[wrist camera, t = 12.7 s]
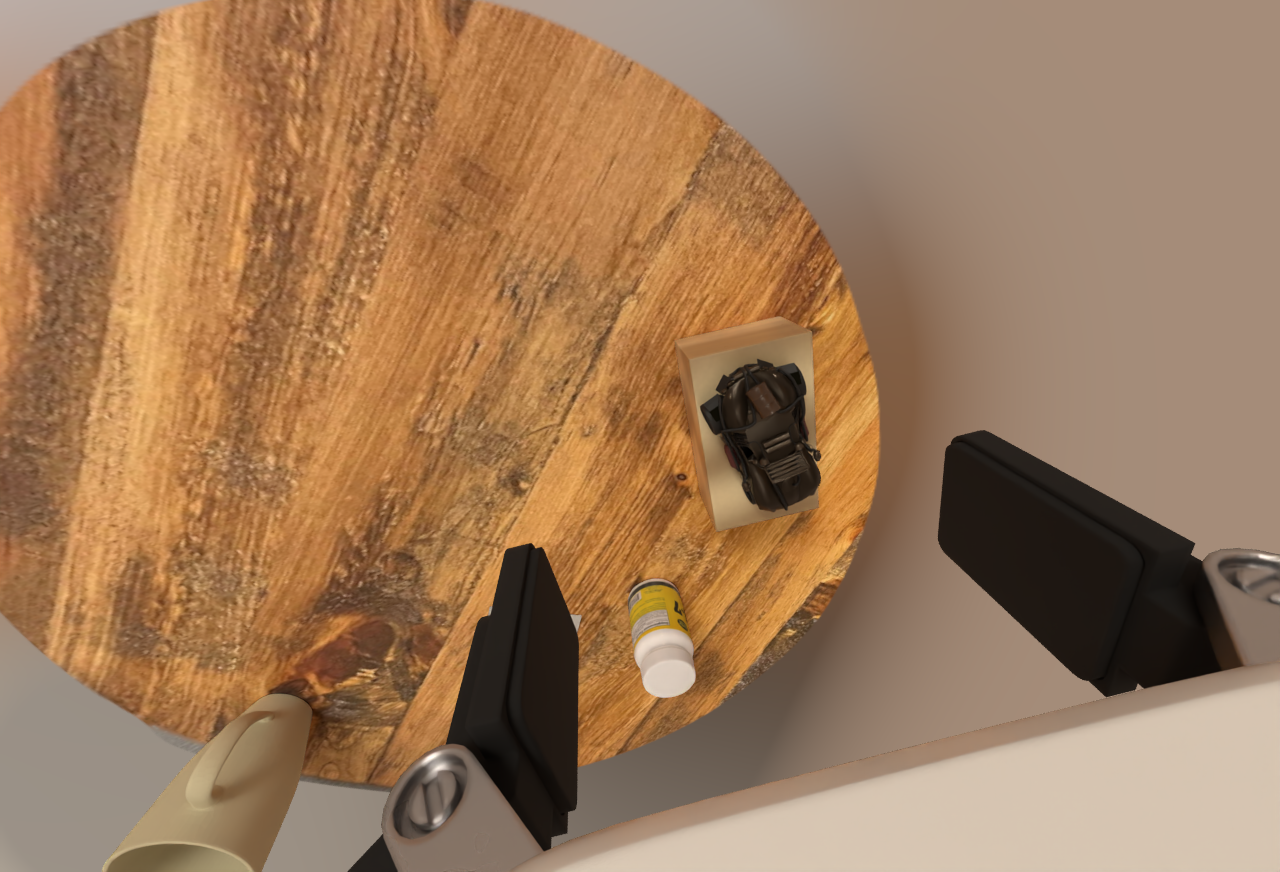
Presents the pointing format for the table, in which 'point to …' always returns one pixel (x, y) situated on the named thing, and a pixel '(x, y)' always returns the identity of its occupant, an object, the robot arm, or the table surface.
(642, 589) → the supplement bottle
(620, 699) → the table surface
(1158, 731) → the robot arm
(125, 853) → the mug
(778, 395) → the toy car
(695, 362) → the birch block
